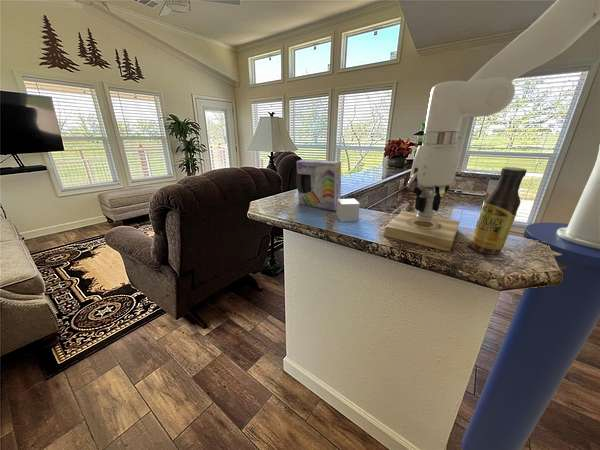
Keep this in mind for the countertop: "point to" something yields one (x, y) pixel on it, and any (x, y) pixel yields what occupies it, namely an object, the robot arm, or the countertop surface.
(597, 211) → the robot arm
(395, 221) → the wooden block
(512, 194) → the sauce bottle
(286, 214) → the countertop surface
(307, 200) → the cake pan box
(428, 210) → the rook chess piece
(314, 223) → the countertop surface
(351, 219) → the white cube
